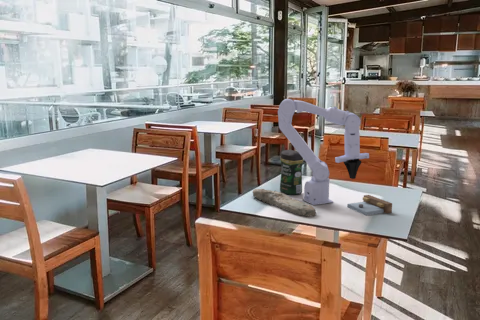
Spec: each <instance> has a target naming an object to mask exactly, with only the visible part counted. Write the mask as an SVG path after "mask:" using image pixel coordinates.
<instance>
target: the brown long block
mask: <svg viewBox="0 0 480 320" xmlns="http://www.w3.org/2000/svg"><path fill="white" fill-rule="evenodd" d="M362 200H363V201H362V202H366V203H369V204H371V205H374V206H376V207H379V208H381V209H384V213H383V214H391V213H393V212H392V211H393V203H392V202H391V201H390V202H389V201H386V200H384V199H382V198H378V197H376V196H373V195H371V194H365V195H363V197H362Z"/></svg>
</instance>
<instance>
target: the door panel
mask: <svg viewBox="0 0 480 320" xmlns="http://www.w3.org/2000/svg"><path fill="white" fill-rule="evenodd" d="M346 206H347V208H348V209H351V210H353V211H355V212H357V213H360V214H361V215H365V216H370V215H371V216H373V215H378V214H385V213H384V209H381V208H379V207H376V206H374V205H371V204H369V203H366V202H363V201H360V202H351V203H347V205H346Z"/></svg>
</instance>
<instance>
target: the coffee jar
mask: <svg viewBox="0 0 480 320" xmlns="http://www.w3.org/2000/svg"><path fill="white" fill-rule="evenodd" d="M279 160H280V163H281V165H280V167H281V169H280V170H281V171H280V182H279V192H281V193H284V194H285V195H290V196H292V195H293V196H296V195H297V196H298V195H300V194H301V193H303V174H302V173H303V163H304V159H303V157H302V156H301V155H300V154H299V152H298V151H297V150H292V149H285V150H284V149H283V150H282V151H281V152H280V159H279Z"/></svg>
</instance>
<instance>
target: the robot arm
mask: <svg viewBox="0 0 480 320" xmlns="http://www.w3.org/2000/svg"><path fill="white" fill-rule="evenodd" d="M303 112H307V113H309V114H312V115H317V116H320V117H323V118H324V120H325V121H326V122H328V123H332V124H334V125H338V126H344V133H343V134H344V154H343V155H340V156H336V157H334V159H335V160H334V161H335V163H337V164H339V163H343V164H344V165H345V167H346V170H347V172H348V176H349V179H352V180H355V179H357V174H358V170H359V168H360V166H361V165H362V160H364V159H370V153H369V152H363V153H361V151H360V150H361V148H360V147H361V144H360V143H361V141H360V138H361V137H360V135H361V134H360V126H361V122H362V121H361V119H360V117H359V116H358V115H357V114H356V113H353V112H350V111H349V110H346V111H345V110H342V109H339V108H338V107H337V106H333V107H332V106H330V107H327V108H325V107H321V106H318V105H315V104H313V103H310V102H307V101H303V100H300V99H299V100H298V99H292V98H285V99H283V100H282V101H281V102H280V104H279V105H278V109H277V117H278V128H279V130H280V131H281V133H282V134H283V135H284V136H285V137H286V139H288V141H289V142H290V144H291V145H292V146H293V148H294V149H295V151H297V152H299V154H300V155H301V156H302V157H303V161H305V163H306V164H307V165H308V167H309V169H310V170H311V172H312V177H311V178H310V179H309V180H307V181H305V183H304V186H303V188H304V190H303V191H304V192H303V199H302V201H305V202H307V204H308V203H309V205H311V206H312V205H313V206H316V205H321V204H322V205H323V204H329V203H330V204H331V203H334V200H331V199H330V178H329V177H330V170H329V166H328V164H327V162H325V161H323V160H321V159H320V157H318V156H317V155H316V153H315V152H314V151H313V149H311V147H310V146H309V145H308V144H307V142H306V141H305V139H303V137H302V136H301V135H300V133H299V132H298V131H297V129H296V128H295V127H294V126H293V125H292V123H293V121H292V120H293V116H294V114H295V113H296V114H299V113H303Z"/></svg>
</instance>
